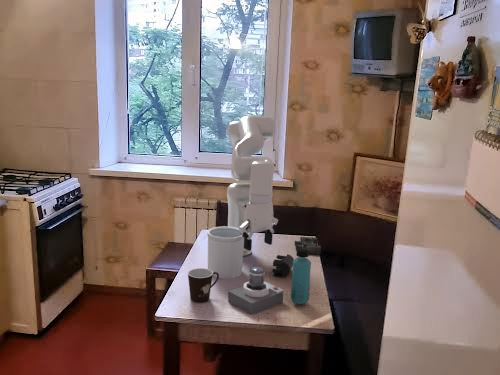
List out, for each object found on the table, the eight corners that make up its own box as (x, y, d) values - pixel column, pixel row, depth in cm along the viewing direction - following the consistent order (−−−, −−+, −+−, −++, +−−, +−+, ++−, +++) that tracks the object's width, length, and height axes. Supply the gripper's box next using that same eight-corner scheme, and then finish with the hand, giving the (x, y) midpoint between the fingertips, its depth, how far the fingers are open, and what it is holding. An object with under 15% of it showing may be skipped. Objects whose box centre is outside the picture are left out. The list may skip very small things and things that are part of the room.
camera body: (228, 301, 157) (228, 285, 156) (259, 290, 167) (259, 275, 166) (251, 314, 148) (252, 297, 147) (282, 302, 158) (283, 286, 157)
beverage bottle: (312, 304, 158) (316, 249, 154) (301, 310, 153) (305, 254, 149) (297, 298, 162) (300, 245, 158) (286, 303, 157) (289, 249, 153)
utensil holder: (243, 281, 175) (245, 237, 172) (205, 280, 174) (206, 236, 171) (242, 266, 189) (244, 226, 186) (207, 266, 189) (208, 225, 185)
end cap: (289, 279, 179) (290, 263, 178) (272, 276, 181) (272, 260, 179) (293, 270, 188) (294, 254, 187) (277, 268, 190) (278, 252, 189)
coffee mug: (189, 306, 152) (189, 278, 150) (185, 295, 160) (186, 269, 158) (223, 303, 155) (223, 276, 153) (217, 293, 163) (218, 266, 161)
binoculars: (296, 254, 208) (297, 241, 206) (293, 243, 223) (294, 231, 222) (320, 255, 208) (321, 242, 206) (315, 244, 223) (316, 232, 222)
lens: (244, 290, 157) (246, 268, 155) (255, 286, 160) (257, 265, 159) (255, 296, 153) (257, 273, 151) (266, 291, 157) (268, 269, 155)
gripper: (270, 192, 159) (268, 238, 162) (233, 199, 147) (231, 248, 151) (286, 197, 153) (283, 244, 157) (249, 204, 142) (246, 255, 146)
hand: (257, 246), depth 154 cm, fingers open, 9 cm apart
